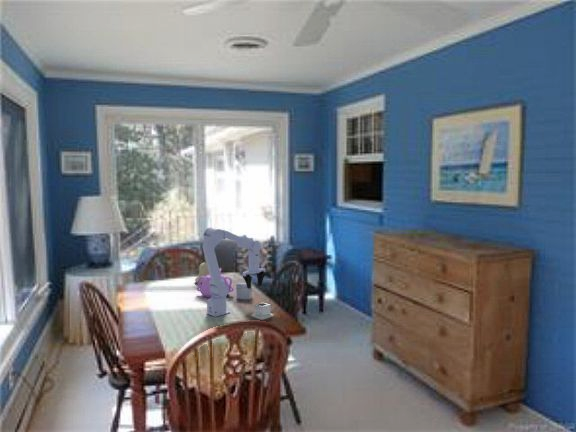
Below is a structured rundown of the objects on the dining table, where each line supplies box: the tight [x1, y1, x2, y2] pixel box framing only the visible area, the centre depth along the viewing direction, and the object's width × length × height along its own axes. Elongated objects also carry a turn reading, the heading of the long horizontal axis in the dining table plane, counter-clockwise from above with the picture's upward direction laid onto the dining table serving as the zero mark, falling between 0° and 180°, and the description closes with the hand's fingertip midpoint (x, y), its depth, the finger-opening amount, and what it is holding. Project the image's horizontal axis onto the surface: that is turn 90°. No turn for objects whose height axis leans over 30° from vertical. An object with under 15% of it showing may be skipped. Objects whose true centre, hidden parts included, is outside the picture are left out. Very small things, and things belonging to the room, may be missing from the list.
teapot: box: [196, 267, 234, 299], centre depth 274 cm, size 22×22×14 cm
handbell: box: [194, 254, 210, 284], centre depth 304 cm, size 15×15×25 cm
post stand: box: [250, 305, 275, 321], centre depth 233 cm, size 8×8×6 cm
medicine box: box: [235, 282, 253, 301], centre depth 265 cm, size 8×4×9 cm, turn 74°
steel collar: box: [254, 302, 272, 317], centre depth 233 cm, size 6×6×5 cm
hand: (254, 286), depth 252 cm, fingers open, 7 cm apart
